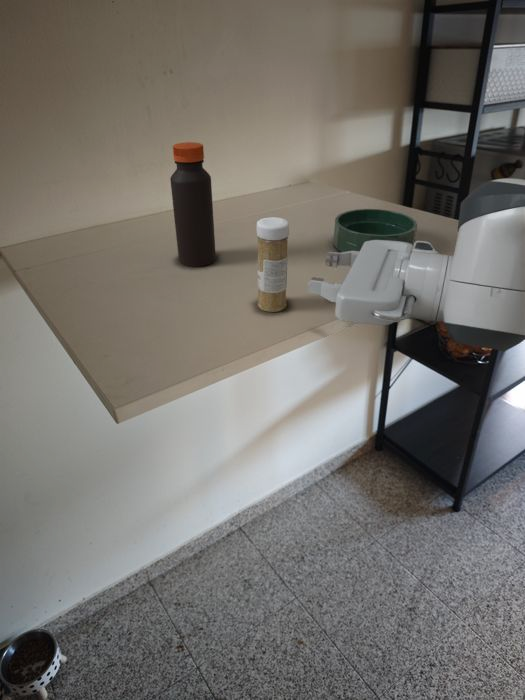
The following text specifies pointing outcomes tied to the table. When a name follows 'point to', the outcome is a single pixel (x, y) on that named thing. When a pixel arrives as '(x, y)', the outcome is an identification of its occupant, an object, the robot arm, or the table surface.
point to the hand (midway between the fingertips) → (318, 271)
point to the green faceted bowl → (372, 228)
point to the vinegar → (192, 206)
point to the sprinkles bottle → (272, 263)
